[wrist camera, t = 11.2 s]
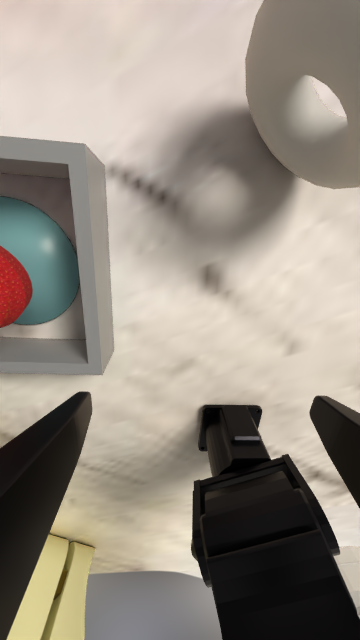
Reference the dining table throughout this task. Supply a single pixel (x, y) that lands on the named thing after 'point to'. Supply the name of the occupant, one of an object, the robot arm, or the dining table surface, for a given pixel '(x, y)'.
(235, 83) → the dining table surface
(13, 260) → the strawberry
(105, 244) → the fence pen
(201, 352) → the dining table surface
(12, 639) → the slatted curved stool
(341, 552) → the dish
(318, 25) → the donut
